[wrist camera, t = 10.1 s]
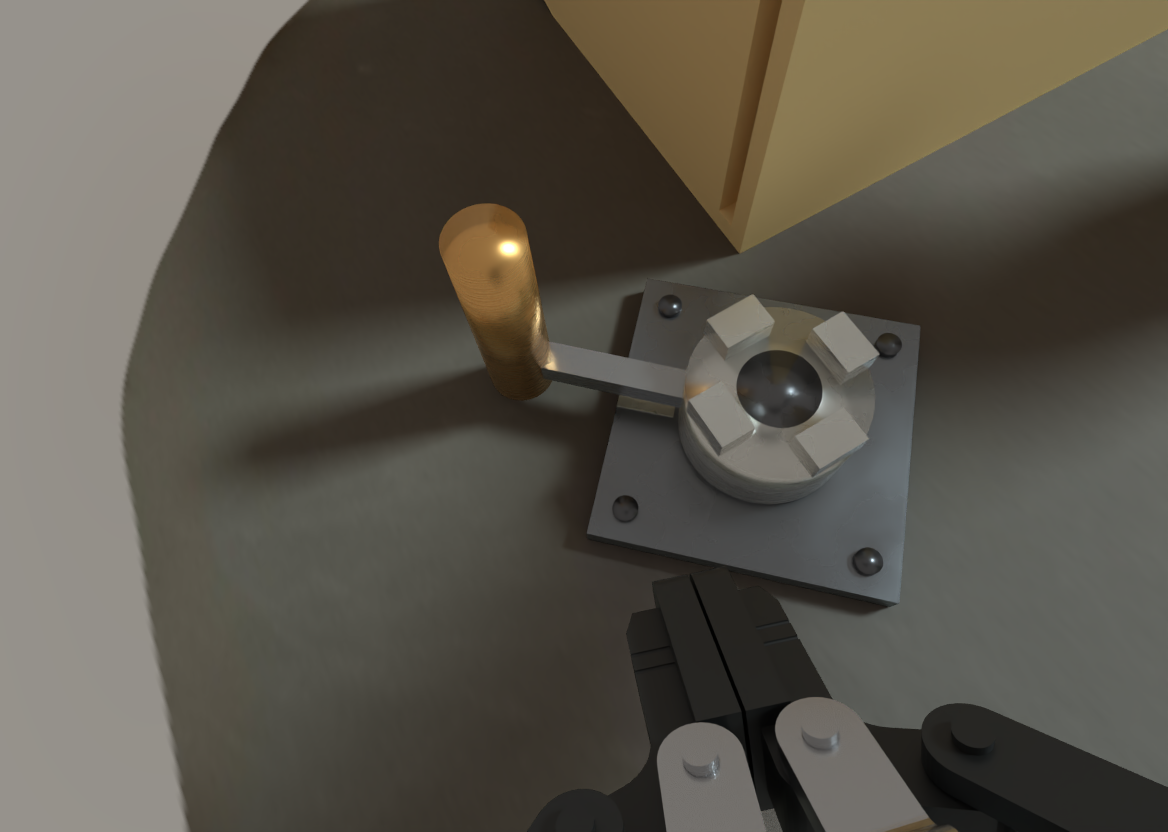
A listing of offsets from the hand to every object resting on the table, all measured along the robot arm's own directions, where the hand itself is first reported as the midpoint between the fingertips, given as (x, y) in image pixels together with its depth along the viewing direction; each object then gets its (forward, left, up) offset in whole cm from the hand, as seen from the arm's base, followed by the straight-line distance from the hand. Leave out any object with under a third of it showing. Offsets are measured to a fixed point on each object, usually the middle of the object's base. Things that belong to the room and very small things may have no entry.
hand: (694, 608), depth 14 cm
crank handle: (-12, -2, -18) cm, 21 cm away
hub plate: (-12, +3, -19) cm, 23 cm away
